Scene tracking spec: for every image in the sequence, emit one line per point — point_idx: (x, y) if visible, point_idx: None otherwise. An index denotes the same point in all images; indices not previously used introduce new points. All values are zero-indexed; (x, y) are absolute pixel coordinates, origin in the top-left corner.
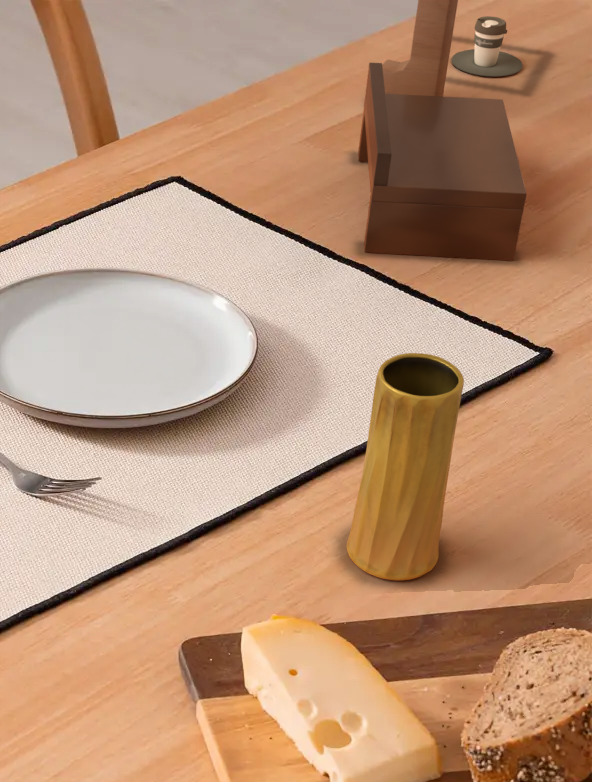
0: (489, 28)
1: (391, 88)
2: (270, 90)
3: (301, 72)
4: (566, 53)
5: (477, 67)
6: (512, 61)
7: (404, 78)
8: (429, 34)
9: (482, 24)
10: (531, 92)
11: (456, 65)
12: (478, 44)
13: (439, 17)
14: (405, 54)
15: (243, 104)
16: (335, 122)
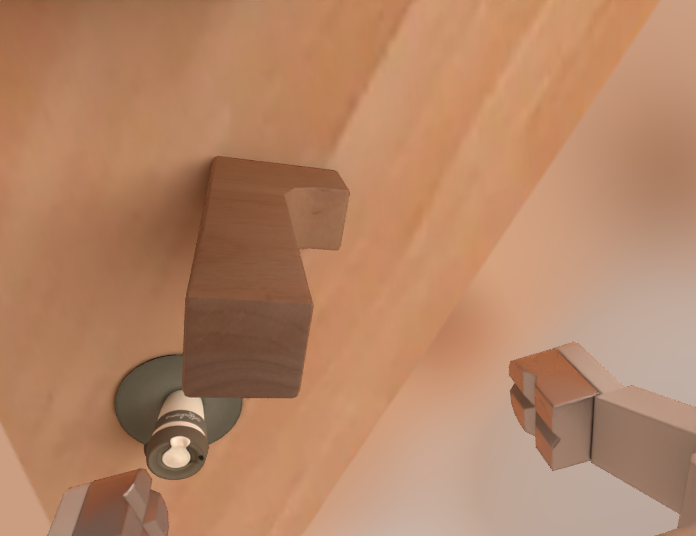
0: (172, 436)
1: (309, 176)
2: (520, 164)
3: (474, 258)
4: (66, 489)
5: None
6: (139, 424)
7: (287, 180)
8: (247, 213)
9: (188, 440)
10: (65, 329)
11: None
12: (193, 413)
13: (225, 227)
14: (319, 386)
15: (565, 83)
16: (392, 55)
